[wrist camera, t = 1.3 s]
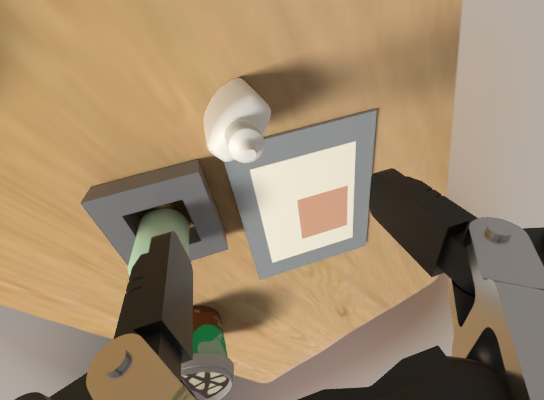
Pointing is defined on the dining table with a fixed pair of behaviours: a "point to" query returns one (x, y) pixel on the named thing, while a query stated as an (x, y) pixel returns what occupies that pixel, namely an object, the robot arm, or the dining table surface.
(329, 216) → the sketch board
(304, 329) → the dining table surface
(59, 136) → the dining table surface
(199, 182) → the button housing
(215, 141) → the eye dropper bottle
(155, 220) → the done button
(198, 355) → the food container
